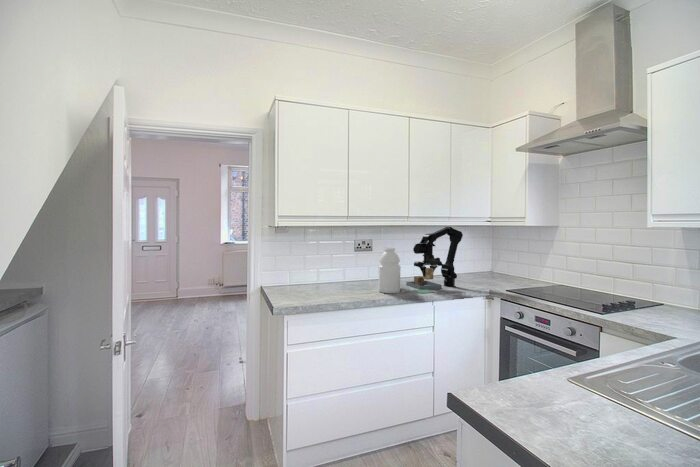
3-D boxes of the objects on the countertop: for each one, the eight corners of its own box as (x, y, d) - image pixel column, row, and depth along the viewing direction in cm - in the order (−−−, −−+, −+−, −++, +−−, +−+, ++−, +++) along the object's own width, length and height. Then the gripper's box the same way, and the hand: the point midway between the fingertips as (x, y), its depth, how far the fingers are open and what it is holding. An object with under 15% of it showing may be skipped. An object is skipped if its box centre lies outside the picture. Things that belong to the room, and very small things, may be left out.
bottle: (404, 291, 214) (405, 248, 213) (389, 294, 205) (389, 248, 205) (389, 288, 225) (389, 246, 224) (373, 291, 216) (374, 247, 216)
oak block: (429, 278, 226) (429, 267, 226) (433, 279, 222) (433, 268, 222) (422, 278, 225) (422, 267, 224) (426, 279, 220) (426, 268, 220)
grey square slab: (426, 284, 240) (426, 280, 240) (441, 289, 223) (441, 284, 223) (406, 286, 234) (406, 281, 234) (420, 290, 217) (420, 286, 217)
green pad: (425, 290, 218) (425, 289, 218) (434, 293, 209) (434, 291, 209) (412, 291, 215) (412, 290, 215) (420, 294, 205) (420, 293, 205)
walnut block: (420, 284, 237) (420, 276, 237) (424, 285, 232) (424, 277, 232) (414, 285, 235) (414, 276, 235) (417, 286, 231) (418, 277, 230)
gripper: (422, 254, 212) (422, 279, 212) (447, 253, 219) (447, 277, 219) (413, 253, 222) (413, 276, 223) (437, 252, 229) (437, 275, 229)
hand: (427, 276), depth 223 cm, fingers closed on oak block, 5 cm apart
